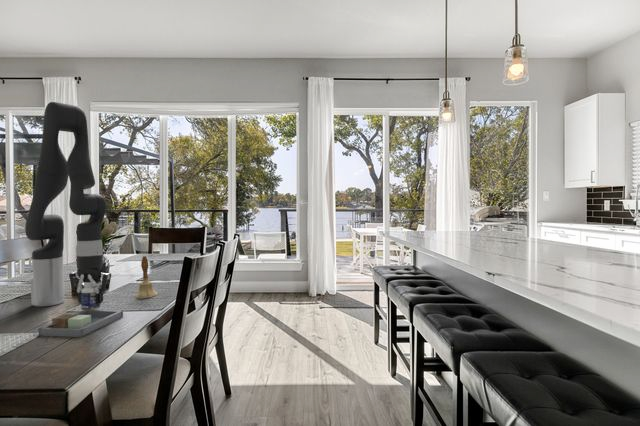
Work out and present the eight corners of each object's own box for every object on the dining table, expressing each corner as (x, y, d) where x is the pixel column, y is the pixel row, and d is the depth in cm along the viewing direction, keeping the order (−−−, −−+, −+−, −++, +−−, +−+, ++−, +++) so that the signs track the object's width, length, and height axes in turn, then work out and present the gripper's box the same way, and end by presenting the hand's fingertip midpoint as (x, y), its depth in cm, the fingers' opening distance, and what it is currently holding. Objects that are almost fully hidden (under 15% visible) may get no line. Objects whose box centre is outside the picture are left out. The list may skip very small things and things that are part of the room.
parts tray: (38, 337, 104) (38, 328, 104) (86, 317, 122) (86, 309, 122) (80, 339, 103) (80, 330, 103) (123, 318, 121) (122, 310, 121)
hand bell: (142, 299, 144) (141, 258, 143) (130, 296, 148) (129, 256, 148) (161, 294, 151) (160, 255, 150) (149, 292, 155) (148, 254, 155)
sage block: (68, 332, 106) (67, 319, 106) (79, 328, 110) (78, 314, 110) (81, 333, 105) (80, 319, 105) (91, 328, 109) (91, 315, 109)
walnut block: (52, 332, 107) (51, 318, 106) (63, 327, 111) (63, 314, 110) (65, 332, 106) (64, 318, 106) (75, 328, 110) (75, 314, 110)
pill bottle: (91, 313, 122) (90, 283, 122) (77, 311, 123) (76, 282, 123) (104, 308, 128) (103, 280, 127) (90, 307, 129) (89, 279, 128)
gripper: (61, 254, 122) (62, 305, 123) (101, 255, 120) (102, 307, 121) (78, 251, 129) (79, 299, 130) (117, 252, 128) (118, 301, 128)
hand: (90, 303), depth 125 cm, fingers closed on pill bottle, 5 cm apart
